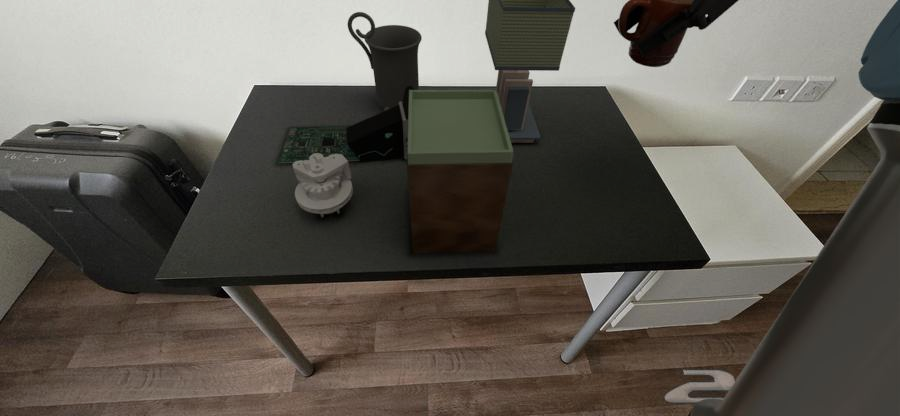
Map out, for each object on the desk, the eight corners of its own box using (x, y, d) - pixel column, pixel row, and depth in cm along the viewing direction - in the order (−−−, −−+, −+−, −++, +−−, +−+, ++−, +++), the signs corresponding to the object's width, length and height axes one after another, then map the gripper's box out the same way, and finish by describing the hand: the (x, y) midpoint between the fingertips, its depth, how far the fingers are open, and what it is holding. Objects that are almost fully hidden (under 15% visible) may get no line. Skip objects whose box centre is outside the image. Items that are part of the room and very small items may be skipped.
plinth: (483, 187, 82) (495, 99, 66) (494, 251, 70) (513, 163, 54) (413, 188, 81) (408, 100, 65) (413, 253, 69) (406, 165, 53)
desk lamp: (539, 147, 92) (576, 8, 68) (483, 148, 91) (501, 7, 67) (525, 107, 105) (553, -23, 80) (476, 107, 104) (489, -25, 80)
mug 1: (426, 91, 109) (425, -1, 90) (431, 120, 99) (430, 23, 80) (362, 94, 107) (347, 0, 88) (360, 123, 97) (343, 25, 78)
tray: (494, 100, 66) (496, 89, 64) (511, 163, 54) (513, 151, 53) (409, 100, 65) (409, 89, 63) (408, 164, 53) (407, 153, 52)
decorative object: (349, 144, 90) (339, 88, 79) (422, 138, 93) (422, 84, 82) (350, 166, 85) (340, 109, 74) (428, 158, 88) (428, 103, 77)
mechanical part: (304, 232, 72) (286, 189, 63) (299, 191, 79) (283, 148, 70) (361, 219, 74) (352, 176, 66) (352, 180, 82) (342, 137, 73)
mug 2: (660, 48, 67) (687, -15, 59) (685, 71, 61) (719, 3, 53) (596, 49, 66) (616, -15, 58) (615, 72, 60) (640, 3, 52)
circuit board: (366, 160, 87) (365, 158, 86) (278, 163, 85) (277, 161, 84) (369, 126, 96) (369, 124, 95) (290, 128, 94) (289, 126, 93)
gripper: (849, -38, 46) (667, 85, 56) (742, -74, 59) (612, 30, 70) (847, -94, 41) (650, 51, 51) (731, -119, 55) (594, 0, 65)
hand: (628, 39), depth 60 cm, fingers closed on mug 2, 8 cm apart
